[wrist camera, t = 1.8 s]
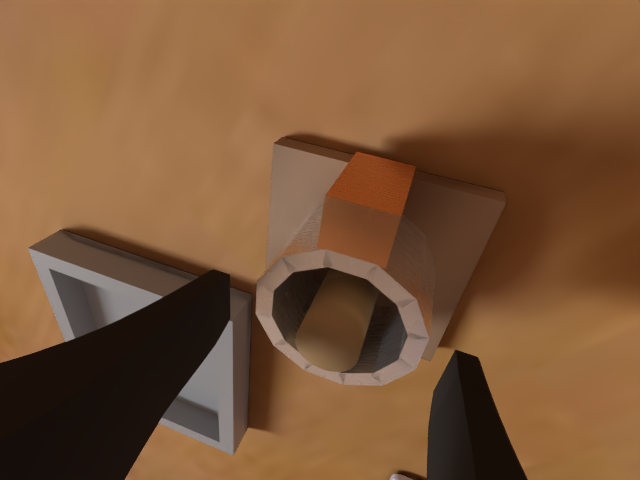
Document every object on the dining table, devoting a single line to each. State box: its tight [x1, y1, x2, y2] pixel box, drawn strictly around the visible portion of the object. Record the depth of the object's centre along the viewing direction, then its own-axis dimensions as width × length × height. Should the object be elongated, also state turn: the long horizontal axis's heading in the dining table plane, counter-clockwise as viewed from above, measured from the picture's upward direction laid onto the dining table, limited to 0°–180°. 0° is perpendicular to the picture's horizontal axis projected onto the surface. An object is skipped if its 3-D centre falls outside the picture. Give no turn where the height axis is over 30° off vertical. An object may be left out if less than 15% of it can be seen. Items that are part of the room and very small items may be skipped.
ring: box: [256, 152, 436, 385], centre depth 13 cm, size 6×7×4 cm
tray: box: [28, 230, 252, 456], centre depth 23 cm, size 12×13×2 cm
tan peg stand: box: [266, 137, 506, 372], centre depth 13 cm, size 8×8×5 cm
